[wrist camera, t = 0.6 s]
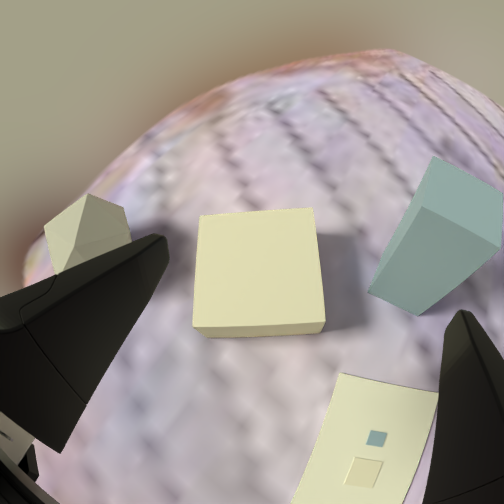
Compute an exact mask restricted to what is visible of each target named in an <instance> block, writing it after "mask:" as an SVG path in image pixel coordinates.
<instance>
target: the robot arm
mask: <svg viewBox="0 0 504 504" xmlns="http://www.w3.org/2000/svg"><path fill="white" fill-rule="evenodd" d="M168 263H169V250H168V244H167V239H166V237H165V236H163V235H159V234H155V233H154V234H151V235H148V236H145V237H143V238H140V239H138V240H135V241H133V242H131V243H128V244H126V245H123V246H121V247H118V248H116V249H113V250H111V251H109V252H106V253H104V254H101V255H99V256H97V257H94V258H92V259H90V260H87V261H85V262H83V263H80V264H78V265H76V266H74V267H71V268H69V269H67V270H64V271H62V272H60V273H58V274H55V275H53V276H51V277H49V278H47V279H44V280H42V281H40V282H38V283H35V284H33V285H30V286H28V287H25V288H23V289H21V290H18V291H15V292H13V293H10V294H8V295H5V296H2V297H0V504H60V503H58V502H57V501H56V500H55V499H53V498H52V497H51V496H50V495H49V494H47V493H46V492H45V491H44V490H43V489H42V488H41V487H39V486H38V485H37V484H36V483H35V482H36V480H37V478H38V477H39V472H38V467H37V461H36V455H35V448H34V445H33V444H32V442H33V441H34V439H35V438H36V439H38V440H39V441H41V442H42V443H44V444H45V445H47V446H48V447H50V448H51V449H53V450H54V451H56V452H58V453H59V454H60V453H61V452H62V450H63V449H64V447H65V445H66V443H67V441H68V439H69V437H70V435H71V433H72V431H73V430H74V428H75V426H76V424H77V422H78V420H79V418H80V417H81V415H82V413H83V411H84V409H85V408H86V406H87V405H86V404H88V402H89V400H90V398H91V397H92V395H93V393H94V391H95V390H96V388H97V386H98V384H99V383H100V381H101V379H102V377H103V376H104V374H105V372H106V371H107V369H108V367H109V366H110V364H111V362H112V360H113V359H114V357H115V355H116V354H117V352H118V350H119V349H120V347H121V346H122V344H123V342H124V341H125V339H126V337H127V336H128V334H129V333H130V331H131V329H132V328H133V326H134V325H135V323H136V321H137V320H138V318H139V317H140V315H141V313H142V312H143V310H144V309H145V307H146V305H147V304H148V302H149V300H150V299H151V297H152V295H153V293H154V291H155V289H156V287H157V285H158V283H159V281H160V279H161V277H162V275H163V273H164V271H165V269H166V267H167V265H168ZM422 504H504V359H503V358H502V356H501V355H500V353H499V352H498V350H497V348H496V347H495V345H494V344H493V342H492V341H491V339H490V338H489V336H488V335H487V333H486V332H485V331H484V329H483V328H482V326H481V325H480V323H479V322H478V321H477V319H476V318H475V316H474V315H473V314H472V313H471V312H470V311H466V310H459V311H457V313H456V314H455V316H454V317H453V319H452V320H451V322H450V323H449V325H448V326H447V328H446V330H445V334H444V344H443V354H442V363H441V371H440V379H439V395H438V409H437V420H436V430H435V438H434V445H433V452H432V458H431V464H430V470H429V475H428V480H427V485H426V490H425V494H424V498H423V503H422Z"/></svg>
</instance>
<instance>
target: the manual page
mask: <svg viewBox="0 0 504 504" xmlns="http://www.w3.org/2000/svg"><path fill="white" fill-rule="evenodd" d="M438 395H439V393H435V392H429V391H423V390H418V389H412V388H407V387H402V386H397V385H392V384H387V383H382V382H377V381H373V380H368V379H364V378H360V377H355V376H351V375H347V374H343V373H339V376H338V379H337V382H336V386H335V389H334V392H333V395H332V398H331V401H330V404H329V407H328V410H327V413H326V416H325V419H324V422H323V425H322V428H321V430H320V433H319V436H318V438H317V441H316V444H315V446H314V449H313V452H312V454H311V457H310V459H309V462H308V464H307V467H306V469H305V472H304V474H303V476H302V479H301V481H300V483H299V486H298V488H297V490H296V492H295V495H294V497H293V499H292V501H291V503H290V504H402V502H403V500H404V498H405V496H406V493H407V491H408V489H409V486H410V484H411V481H412V479H413V476H414V474H415V471H416V469H417V466H418V463H419V461H420V458H421V455H422V452H423V449H424V446H425V443H426V440H427V437H428V434H429V430H430V427H431V424H432V420H433V417H434V413H435V409H436V405H437V401H438Z"/></svg>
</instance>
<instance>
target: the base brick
mask: <svg viewBox="0 0 504 504" xmlns="http://www.w3.org/2000/svg"><path fill="white" fill-rule="evenodd" d="M325 322H326V319H325V308H324V297H323V287H322V278H321V269H320V260H319V251H318V243H317V235H316V228H315V220H314V213H313V208H297V209H281V210H266V211H253V212H240V213H227V214H215V215H204V216H200V218H199V230H198V243H197V256H196V271H195V287H194V306H193V328H194V329H196V330H197V331H198V332H200V333H201V334H202V335H204V336H205V337H207V338H234V337H265V336H285V335H301V334H315V333H320V332H321V330H322V328H323V326H324V324H325Z"/></svg>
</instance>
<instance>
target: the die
mask: <svg viewBox="0 0 504 504" xmlns="http://www.w3.org/2000/svg"><path fill="white" fill-rule="evenodd" d="M44 229H45V234H46V239H47V243H48V248H49V252H50V256H51V260H52V264H53V268H54V272H55V274H58V273H60V272H62V271H64V270H67V269H69V268H71V267H74V266H76V265H78V264H80V263H83V262H85V261H87V260H90V259H92V258H94V257H97V256H99V255H101V254H104V253H106V252H109V251H111V250H113V249H116V248H118V247H121V246H123V245H126V244H128V243H131V242H132V240H131V234H130V230H129V226H128V223H127V219H126V216H125V212H124V208H123V207H121V206H119V205H116V204H114V203H111V202H108V201H106V200H103V199H101V198H98V197H96V196H93V195H91V194H86V195H85V196H83V197H82V198H80V199H79V200H78V201H76V202H75V203H74V204H72V205H71V206H69V207H68V208H67V209H65V210H64V211H63V212H61V213H60V214H59V215H58V216H56V217H55V218H54V219H52V220H51V221H50V222H49V223H47V224H46V225H45V226H44Z"/></svg>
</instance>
